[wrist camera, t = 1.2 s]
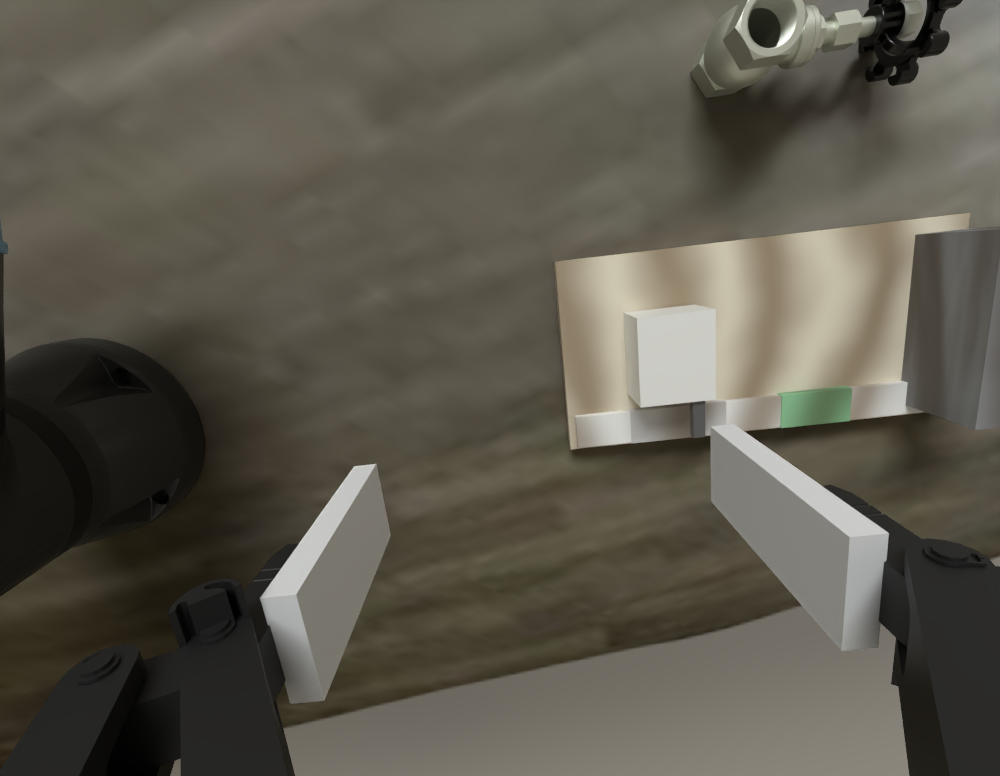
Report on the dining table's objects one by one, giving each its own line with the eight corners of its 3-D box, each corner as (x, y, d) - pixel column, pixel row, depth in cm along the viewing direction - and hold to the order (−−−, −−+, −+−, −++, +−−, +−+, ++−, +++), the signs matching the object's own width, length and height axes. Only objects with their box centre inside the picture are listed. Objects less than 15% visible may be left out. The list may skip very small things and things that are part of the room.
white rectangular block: (629, 428, 36) (642, 445, 33) (623, 312, 34) (636, 318, 31) (696, 421, 36) (716, 437, 33) (694, 304, 34) (715, 309, 31)
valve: (688, 128, 33) (870, 100, 32) (733, 96, 26) (961, 60, 26) (684, 15, 31) (875, -17, 30) (731, -48, 24) (975, -90, 24)
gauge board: (568, 443, 38) (583, 484, 31) (553, 261, 35) (566, 262, 28) (931, 405, 37) (1030, 439, 30) (954, 214, 34) (1071, 202, 27)
